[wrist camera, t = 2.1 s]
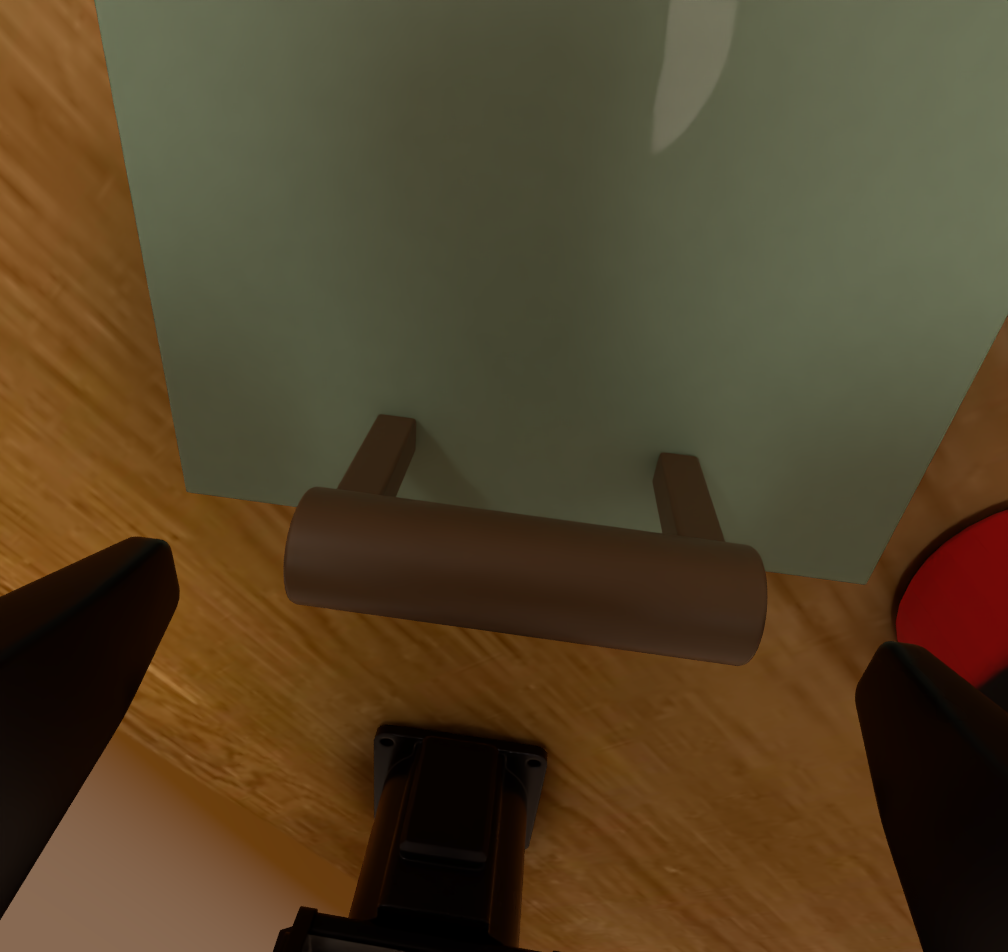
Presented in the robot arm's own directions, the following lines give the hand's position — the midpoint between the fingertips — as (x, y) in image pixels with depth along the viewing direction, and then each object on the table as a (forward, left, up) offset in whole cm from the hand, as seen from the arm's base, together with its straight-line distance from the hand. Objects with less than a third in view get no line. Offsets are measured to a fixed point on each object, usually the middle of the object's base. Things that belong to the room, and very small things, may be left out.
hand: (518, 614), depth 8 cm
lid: (+4, 0, -5) cm, 6 cm away
